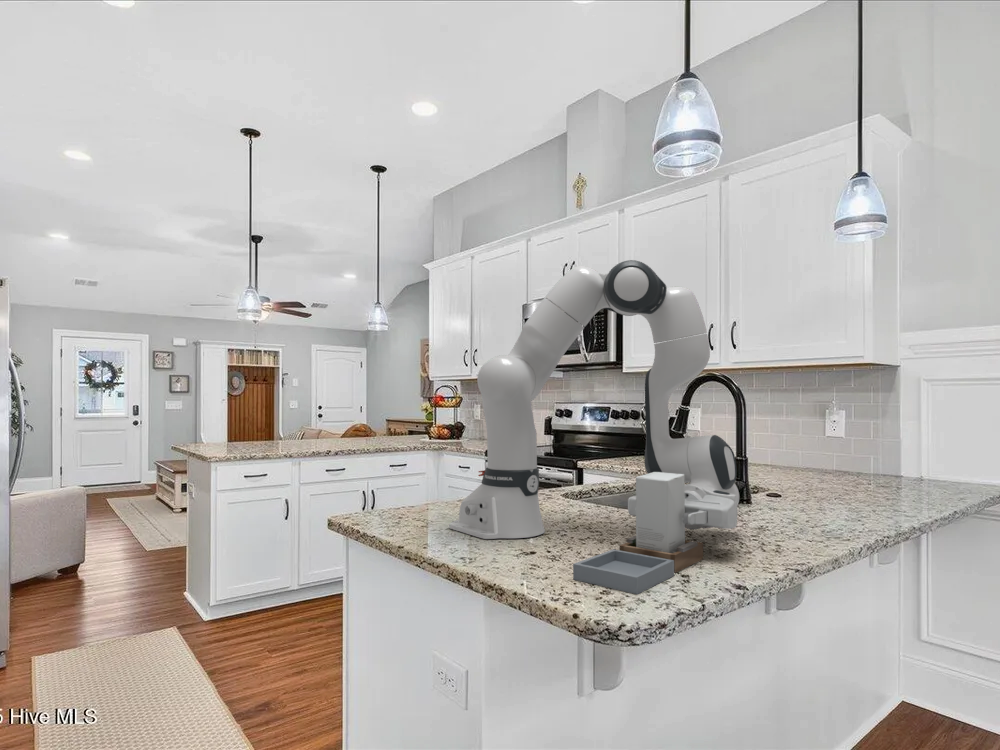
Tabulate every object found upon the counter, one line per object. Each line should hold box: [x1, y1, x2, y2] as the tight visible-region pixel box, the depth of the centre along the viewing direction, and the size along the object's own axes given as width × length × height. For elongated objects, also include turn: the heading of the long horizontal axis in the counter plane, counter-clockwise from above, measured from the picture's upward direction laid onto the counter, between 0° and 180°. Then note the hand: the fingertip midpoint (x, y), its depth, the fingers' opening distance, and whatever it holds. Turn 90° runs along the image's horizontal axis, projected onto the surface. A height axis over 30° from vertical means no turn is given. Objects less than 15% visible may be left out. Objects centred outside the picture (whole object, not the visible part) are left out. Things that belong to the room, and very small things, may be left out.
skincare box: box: [635, 472, 686, 554], centre depth 109 cm, size 8×7×16 cm
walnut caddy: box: [619, 535, 704, 574], centre depth 109 cm, size 11×12×4 cm
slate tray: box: [572, 548, 675, 595], centre depth 99 cm, size 12×13×2 cm
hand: (661, 516), depth 110 cm, fingers open, 8 cm apart
